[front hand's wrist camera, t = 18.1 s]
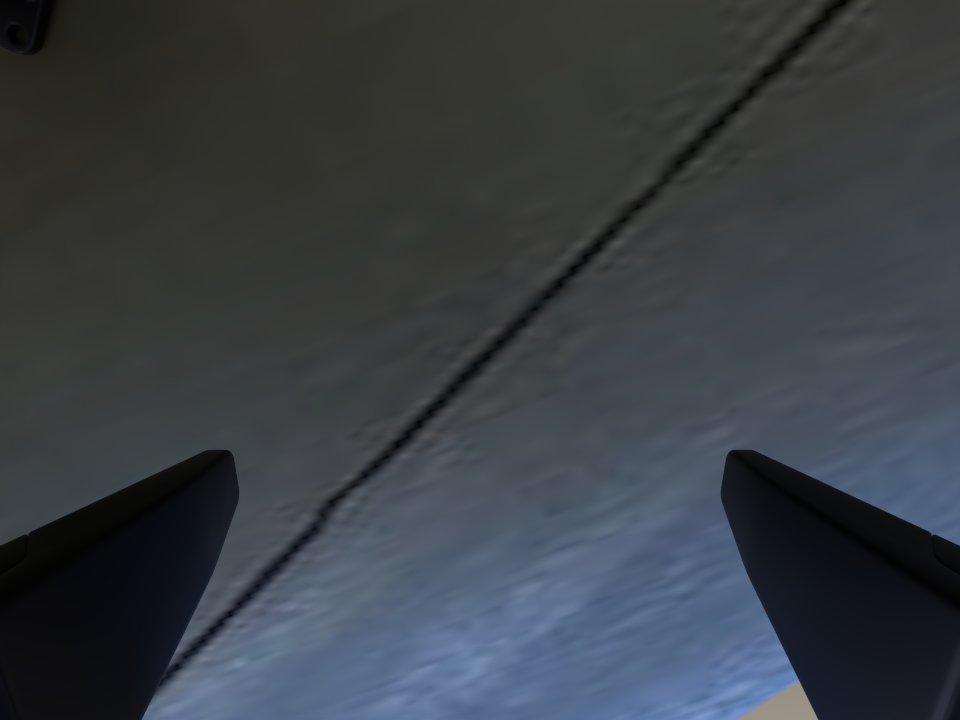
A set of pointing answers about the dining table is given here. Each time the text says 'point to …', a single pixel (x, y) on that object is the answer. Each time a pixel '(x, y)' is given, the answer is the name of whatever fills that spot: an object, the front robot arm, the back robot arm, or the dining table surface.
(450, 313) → the dining table surface
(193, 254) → the dining table surface
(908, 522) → the front robot arm
